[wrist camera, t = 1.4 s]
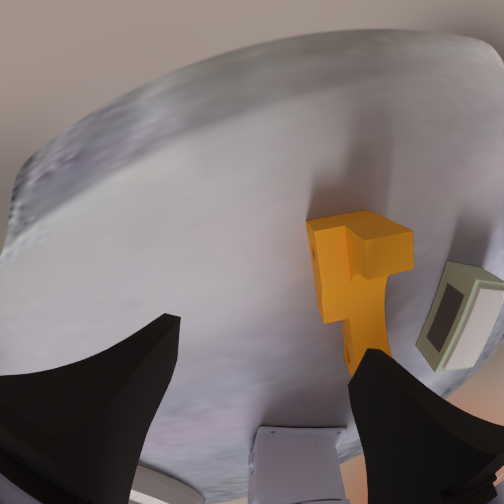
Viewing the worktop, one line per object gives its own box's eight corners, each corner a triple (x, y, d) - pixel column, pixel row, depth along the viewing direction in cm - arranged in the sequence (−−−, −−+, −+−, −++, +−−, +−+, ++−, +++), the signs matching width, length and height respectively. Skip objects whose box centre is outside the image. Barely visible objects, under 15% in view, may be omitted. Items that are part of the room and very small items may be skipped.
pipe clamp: (305, 220, 18) (327, 248, 12) (366, 209, 18) (412, 230, 11) (323, 362, 21) (339, 420, 15) (372, 351, 21) (399, 403, 15)
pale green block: (415, 345, 20) (436, 375, 16) (446, 261, 18) (478, 281, 14) (452, 344, 20) (474, 369, 16) (481, 267, 18) (512, 286, 14)
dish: (228, 493, 31) (225, 518, 26) (180, 513, 36) (176, 530, 32) (94, 438, 28) (82, 462, 23) (83, 471, 34) (76, 488, 29)
